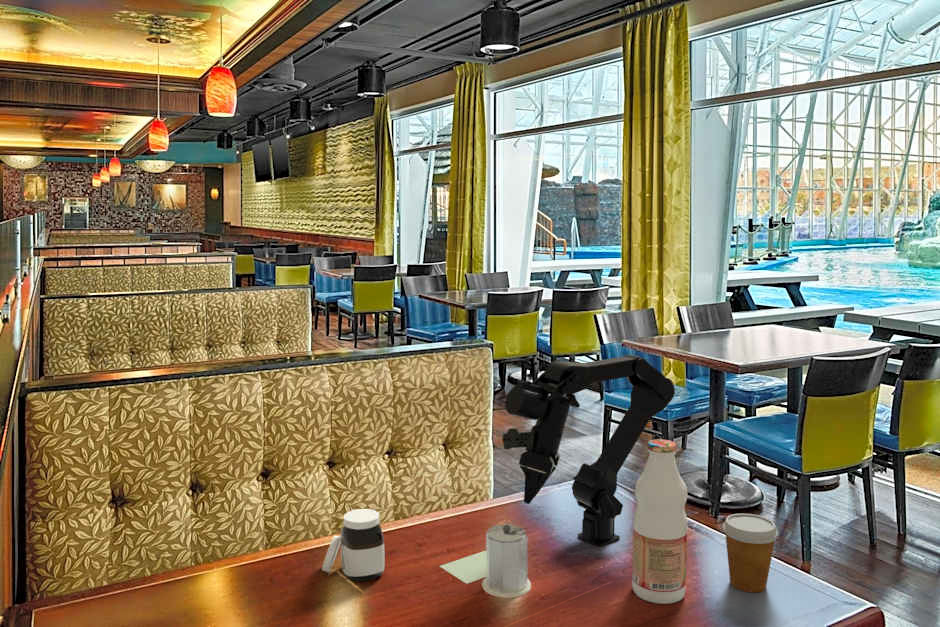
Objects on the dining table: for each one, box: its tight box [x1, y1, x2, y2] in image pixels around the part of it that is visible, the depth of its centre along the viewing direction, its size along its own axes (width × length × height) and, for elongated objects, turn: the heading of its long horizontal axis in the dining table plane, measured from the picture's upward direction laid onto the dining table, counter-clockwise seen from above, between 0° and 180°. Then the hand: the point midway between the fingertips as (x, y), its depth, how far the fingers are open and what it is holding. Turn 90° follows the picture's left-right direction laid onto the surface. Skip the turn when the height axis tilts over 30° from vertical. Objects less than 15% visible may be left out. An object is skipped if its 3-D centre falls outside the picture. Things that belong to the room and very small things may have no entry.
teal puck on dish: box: [481, 577, 532, 599], centre depth 139 cm, size 9×9×3 cm
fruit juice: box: [631, 438, 688, 605], centre depth 135 cm, size 9×9×28 cm
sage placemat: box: [439, 550, 529, 585], centre depth 148 cm, size 15×9×1 cm, turn 127°
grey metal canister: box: [485, 523, 528, 593], centre depth 139 cm, size 7×7×11 cm
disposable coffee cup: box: [722, 513, 779, 593], centre depth 139 cm, size 10×10×12 cm
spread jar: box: [321, 508, 386, 582], centre depth 145 cm, size 12×11×12 cm
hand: (529, 500), depth 150 cm, fingers open, 9 cm apart
